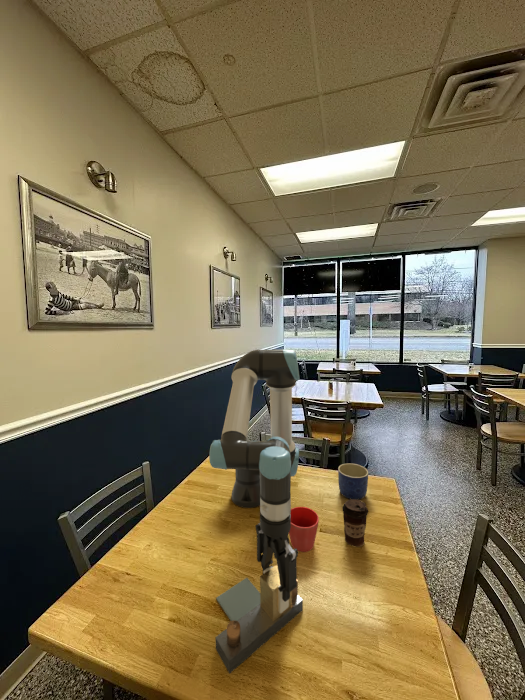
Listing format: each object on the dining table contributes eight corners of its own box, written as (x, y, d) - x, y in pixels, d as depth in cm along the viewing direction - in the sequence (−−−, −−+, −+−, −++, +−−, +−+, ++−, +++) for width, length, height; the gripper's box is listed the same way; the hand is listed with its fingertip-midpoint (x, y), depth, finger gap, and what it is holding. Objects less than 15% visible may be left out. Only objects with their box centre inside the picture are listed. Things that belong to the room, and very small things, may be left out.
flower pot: (322, 537, 100) (322, 510, 100) (313, 560, 90) (314, 531, 90) (292, 528, 105) (292, 503, 104) (282, 550, 95) (282, 521, 94)
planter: (370, 491, 128) (371, 467, 127) (363, 506, 117) (364, 480, 116) (342, 483, 134) (343, 460, 133) (334, 497, 124) (334, 472, 123)
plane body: (229, 673, 61) (228, 643, 61) (215, 649, 66) (214, 620, 65) (302, 610, 75) (302, 585, 74) (286, 593, 79) (286, 569, 79)
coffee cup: (369, 552, 93) (370, 514, 92) (342, 548, 95) (343, 511, 94) (365, 533, 102) (366, 498, 101) (341, 530, 104) (341, 495, 103)
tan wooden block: (273, 621, 69) (272, 590, 68) (260, 605, 73) (260, 576, 72) (291, 606, 73) (291, 576, 72) (278, 592, 77) (278, 563, 76)
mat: (216, 599, 78) (216, 597, 78) (246, 579, 84) (246, 577, 84) (236, 630, 70) (236, 627, 70) (268, 605, 76) (268, 603, 76)
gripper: (241, 501, 76) (243, 583, 78) (289, 541, 61) (289, 641, 63) (264, 490, 80) (265, 569, 82) (313, 525, 66) (313, 619, 68)
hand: (275, 600), depth 73 cm, fingers closed on tan wooden block, 5 cm apart
